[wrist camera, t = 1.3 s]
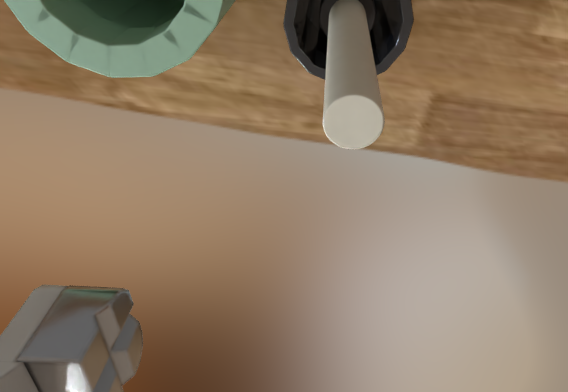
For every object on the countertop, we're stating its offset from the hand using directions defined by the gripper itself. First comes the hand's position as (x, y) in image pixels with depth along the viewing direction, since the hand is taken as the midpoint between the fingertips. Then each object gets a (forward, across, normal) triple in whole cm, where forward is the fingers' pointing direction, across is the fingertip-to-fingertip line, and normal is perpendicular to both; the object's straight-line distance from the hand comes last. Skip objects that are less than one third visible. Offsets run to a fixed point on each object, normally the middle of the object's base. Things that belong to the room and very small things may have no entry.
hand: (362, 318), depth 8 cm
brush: (+24, 0, 0) cm, 24 cm away
